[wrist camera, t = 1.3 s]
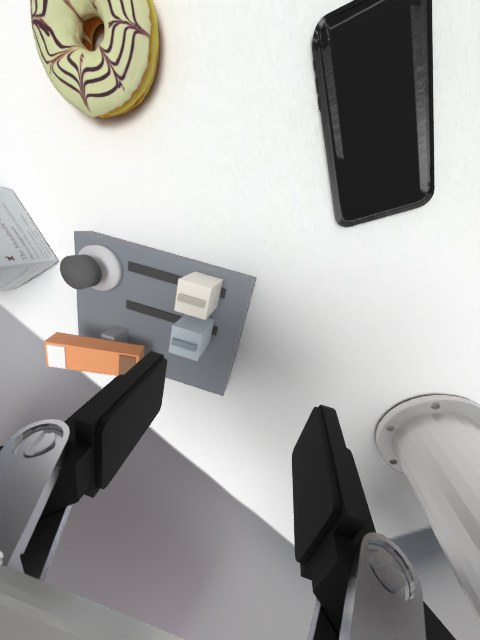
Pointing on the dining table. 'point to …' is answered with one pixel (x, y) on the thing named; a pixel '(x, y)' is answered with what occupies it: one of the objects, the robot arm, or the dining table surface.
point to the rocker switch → (91, 354)
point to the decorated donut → (98, 51)
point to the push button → (80, 271)
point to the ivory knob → (198, 294)
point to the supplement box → (20, 244)
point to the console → (159, 306)
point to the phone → (377, 106)
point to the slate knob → (190, 336)
